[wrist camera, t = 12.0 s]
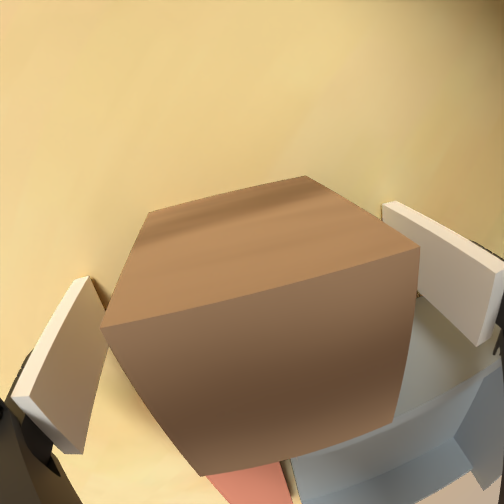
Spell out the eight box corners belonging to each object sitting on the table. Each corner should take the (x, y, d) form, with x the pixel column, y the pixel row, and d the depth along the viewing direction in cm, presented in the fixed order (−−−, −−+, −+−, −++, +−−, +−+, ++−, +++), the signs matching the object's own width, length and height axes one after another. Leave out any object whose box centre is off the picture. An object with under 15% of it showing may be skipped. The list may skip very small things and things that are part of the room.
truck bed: (263, 347, 15) (321, 530, 6) (514, 254, 16) (607, 322, 8) (298, 494, 24) (322, 568, 16) (451, 430, 25) (489, 486, 17)
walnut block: (149, 212, 11) (99, 328, 5) (305, 175, 12) (420, 246, 5) (192, 337, 14) (200, 476, 7) (320, 304, 14) (392, 422, 8)
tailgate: (252, 370, 15) (156, 389, 14) (256, 389, 14) (155, 408, 13) (290, 495, 23) (239, 505, 23) (293, 505, 22) (241, 516, 22)
